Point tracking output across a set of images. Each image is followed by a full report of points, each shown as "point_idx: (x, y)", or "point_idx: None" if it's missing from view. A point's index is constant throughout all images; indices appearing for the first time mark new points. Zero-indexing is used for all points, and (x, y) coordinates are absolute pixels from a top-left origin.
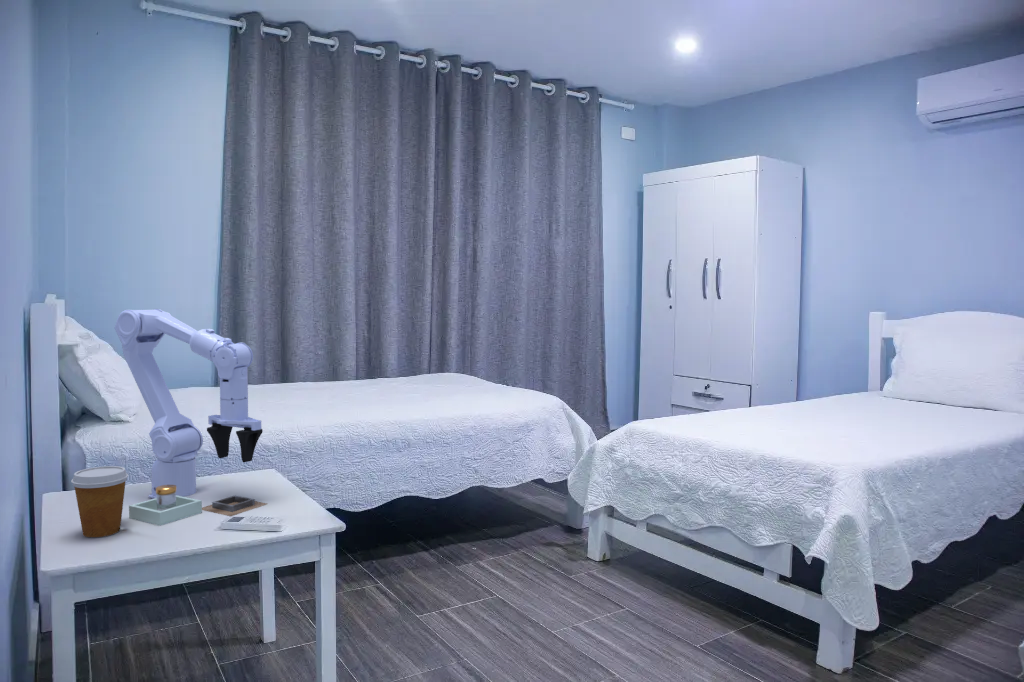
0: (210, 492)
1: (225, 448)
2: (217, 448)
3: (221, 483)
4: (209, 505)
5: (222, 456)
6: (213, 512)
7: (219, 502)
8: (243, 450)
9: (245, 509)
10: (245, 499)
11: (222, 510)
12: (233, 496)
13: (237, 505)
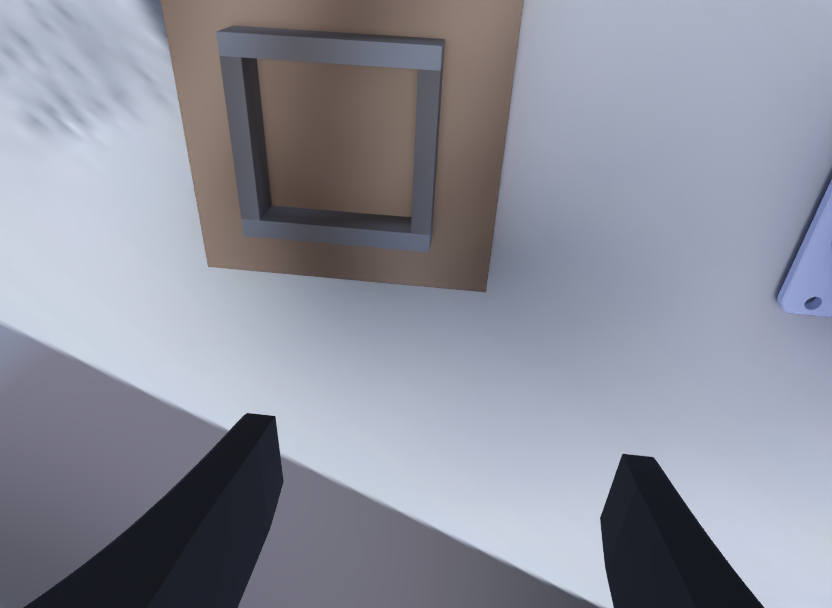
0: (779, 355)
1: (629, 591)
2: (676, 543)
3: (822, 487)
4: (511, 76)
5: (617, 485)
6: None
7: (417, 96)
8: (162, 507)
9: (213, 118)
10: (308, 221)
11: (321, 21)
12: (418, 229)
13: (224, 86)
